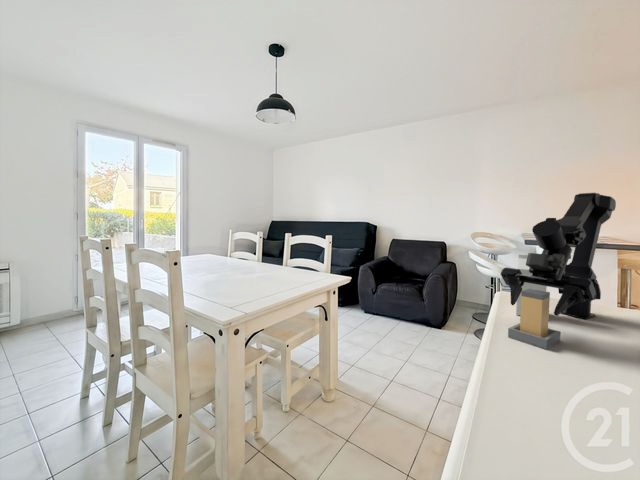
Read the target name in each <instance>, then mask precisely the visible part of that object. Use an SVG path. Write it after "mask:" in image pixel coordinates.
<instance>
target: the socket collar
mask: <svg viewBox="0 0 640 480" xmlns="http://www.w3.org/2000/svg"><path fill="white" fill-rule="evenodd" d="M507 330H508V331H507V338H510V339H513V340H516V341H519V342H522V343H525V344H528V345H530V346H533V347H536V348H540V349H544V350H548V349H550V348H551V347H553V346H554V345H556V344H557V343H559V342H561V330H560V331H558V330H556V329H552V328H549V327H548V336H547V337H546V338H542V337H539V336H536V335H532V334H529V333H526V332H522V331H520V322H519V323H516V324H514V325H513V326H511V327H508V328H507Z"/></svg>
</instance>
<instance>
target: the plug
mask: <svg viewBox="0 0 640 480" xmlns="http://www.w3.org/2000/svg"><path fill="white" fill-rule="evenodd" d="M550 296H551V292H550V291H546V292H545V291H540V290H534V289H527V290H524V291H522V293H521V316H520V320H519V323H520V331H522V332H526V333H529V334H532V335H536V336H539V337H542V338H546V337H547V336H548V328H549V321H550V320H549V319H550V318H549V315H550V298H551V297H550Z"/></svg>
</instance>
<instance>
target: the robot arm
mask: <svg viewBox="0 0 640 480" xmlns="http://www.w3.org/2000/svg"><path fill="white" fill-rule="evenodd" d="M616 206H617V204H616V200H615V199H614V197H612V196H609V195H604V194H603V195H602V194H600V193H599V192H598V193H597V192H584V193H582V192H581V193H578V194H575V196H574V199H573V202H572V203H571V205H570V206H569V207H568V209H567V210H566V212H565V213H564V215H563V217H562V218H559V219H557V218H556V217H546V219H545V220H544V221H543V220H542V221H540V222H538V223H536V224H535V225H533V227H532V229H531V230H532V233H533V236H534V238H535V239H536V240H535V241H536V242H537V245H538V247H539V248H541V249H542V251H541V253H533V252H529V253H528V254H527V255H528V257H527V261H526V266H529V267H530V268H529V272H530V273H532V276H530V275H523V274H522V273H521V271H520V269H518V268H513V267H503V268H502V269H501V271H500V273H499V274H500V276H501V278H502V279H503V281H504V283H505V285H506V286H508V287H509V288H510V290H509V291H510V305H512V306H515V304H516V301H517V299H518V297H519V295H520V293H521V291H522V286H523V285H524V282H526V283H532V284H538V285H542V286H546V287H547V288H548V287H549V288H555V289H558V294H559V295H560V294H561V296H560V298H559V300H558V302H557V303H556V305H555V308H554V312H553V314H554V316H559V315H560V314H564V315H568V316H572V317H575V318H578V319H579V318H580V319H583V320H588V319H591V318H594V317H596V316H597V314H596V313H592V312H591V310H592V309H591V308H592V301H595V300H601V299H602V298H601V297H602V292H601V287H600V284H599V282H598V279H597V278H598V277H597V275H596V274H595V272H594V270H593V268H592V266H593V262H594V257H595V253H596V248H597V244H598V241H599V235H600V232H601V229H602V225H603V224H605V222H607V221H608V220H610V219H611V217H612V213H613V212H614V211H615V210H616ZM571 246H575V248H574V251H573V248H572V247H571ZM572 252H573V254H572ZM569 260H571V262H570V263H568V262H569Z"/></svg>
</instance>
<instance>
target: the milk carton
mask: <svg viewBox="0 0 640 480" xmlns="http://www.w3.org/2000/svg"><path fill="white" fill-rule="evenodd" d="M517 257H518V259H517V269H520V271H521V273H522V274H523V275H530V276H532V273H530V272H529V268H530V267H529V266H526V261H527V257H528V254H518V256H517ZM527 289H534V290H540V291H545V292H547V286H542V285H538V284H532V283H526V282H524V285H523V286H522V291H524V290H527ZM522 291H521V293H522ZM521 293H520V295H519V297H518V299H517V301H516V303H515V304H516V305H515V315H516V316H519V317H521Z"/></svg>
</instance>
